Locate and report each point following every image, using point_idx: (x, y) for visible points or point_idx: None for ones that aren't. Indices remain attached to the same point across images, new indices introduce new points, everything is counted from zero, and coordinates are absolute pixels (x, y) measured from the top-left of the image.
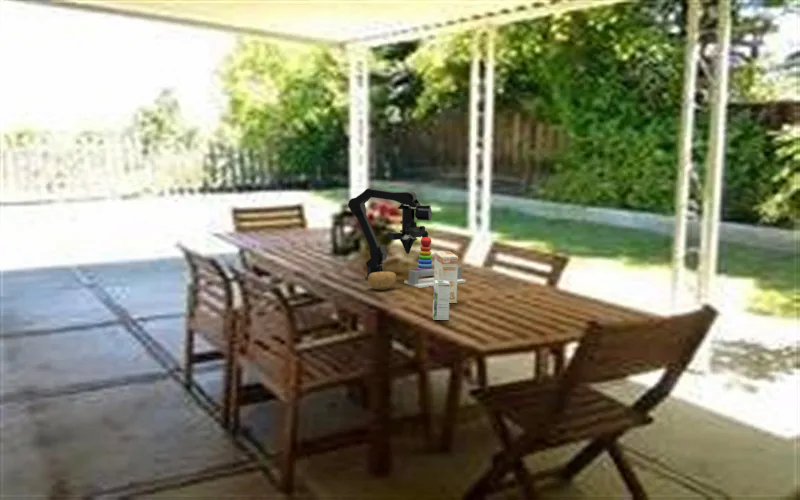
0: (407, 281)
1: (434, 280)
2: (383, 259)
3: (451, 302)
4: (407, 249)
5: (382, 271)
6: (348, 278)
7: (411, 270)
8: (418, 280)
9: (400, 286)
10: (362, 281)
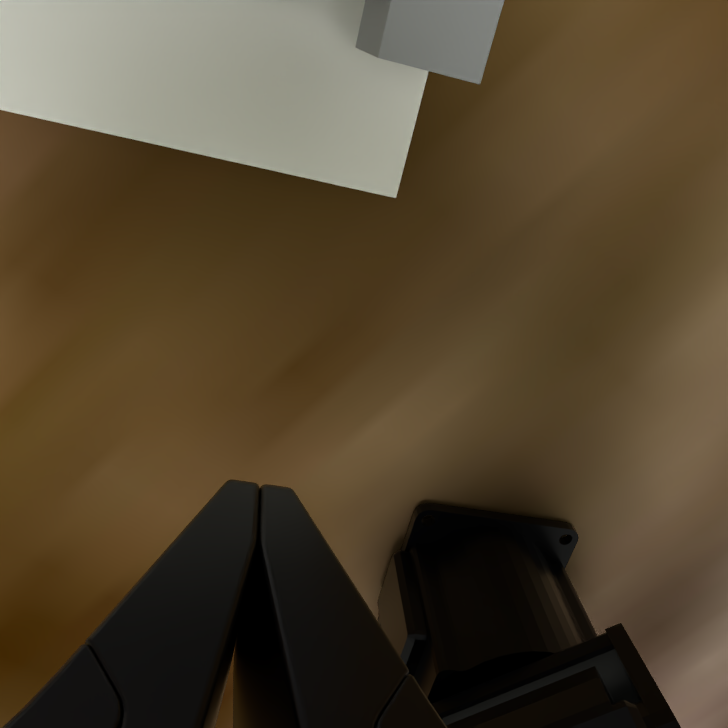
0: (389, 126)
1: None
2: (557, 713)
3: None
4: (334, 579)
5: (414, 606)
6: None
7: (462, 4)
8: (174, 56)
9: (631, 39)
10: (660, 560)
